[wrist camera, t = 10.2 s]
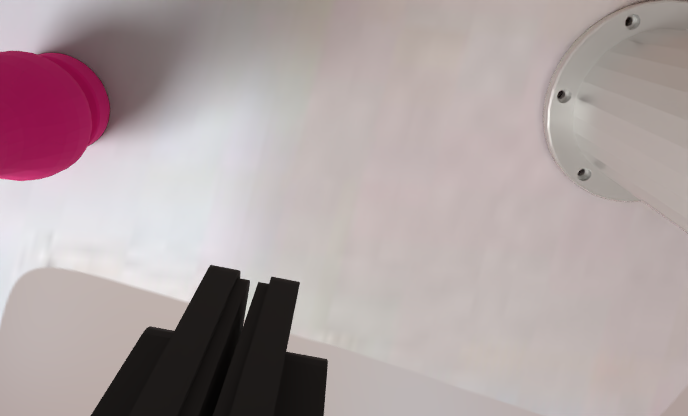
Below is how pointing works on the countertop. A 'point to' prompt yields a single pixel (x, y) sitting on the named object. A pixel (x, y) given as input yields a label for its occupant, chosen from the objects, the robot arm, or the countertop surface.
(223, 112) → the countertop surface
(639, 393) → the countertop surface
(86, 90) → the pepper mill
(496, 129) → the countertop surface
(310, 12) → the countertop surface
